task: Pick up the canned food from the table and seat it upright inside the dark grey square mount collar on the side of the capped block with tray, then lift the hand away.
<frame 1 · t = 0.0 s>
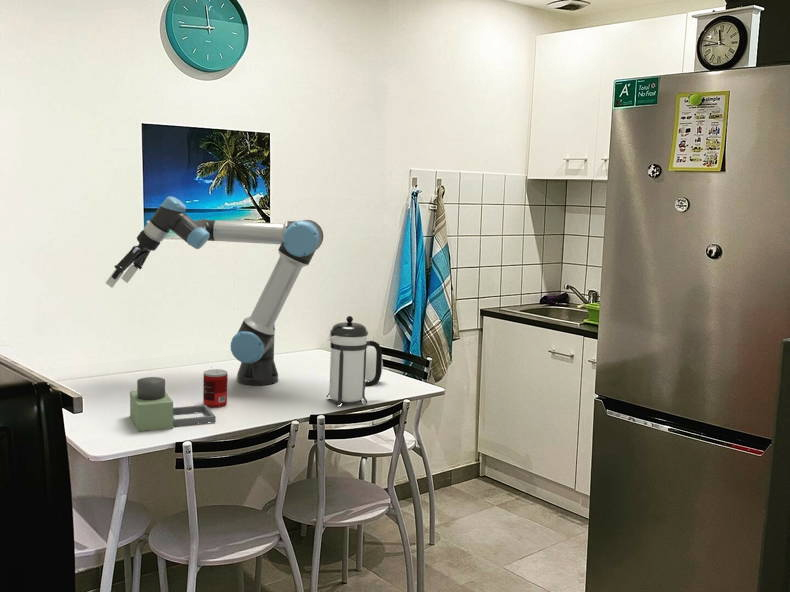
hand: (116, 282, 271), 36 cm above the table, tool tilted 35°, fingers open, 13 cm apart
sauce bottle: (371, 383, 293), on the table
capped block with tray: (166, 420, 236), on the table
canned food: (215, 404, 255), on the table
coffee press: (349, 402, 266), on the table
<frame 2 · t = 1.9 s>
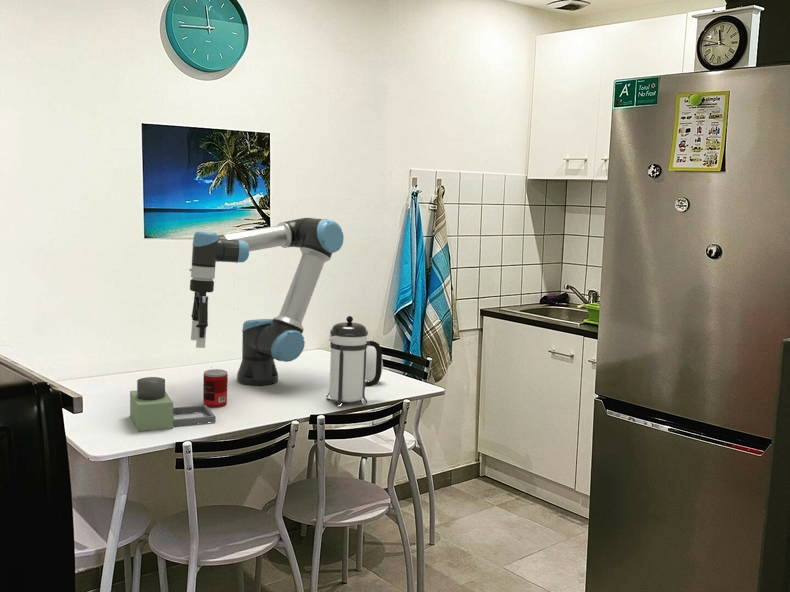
hand: (197, 343, 252), 20 cm above the table, tool pointing down, fingers open, 13 cm apart
nothing on the table moved.
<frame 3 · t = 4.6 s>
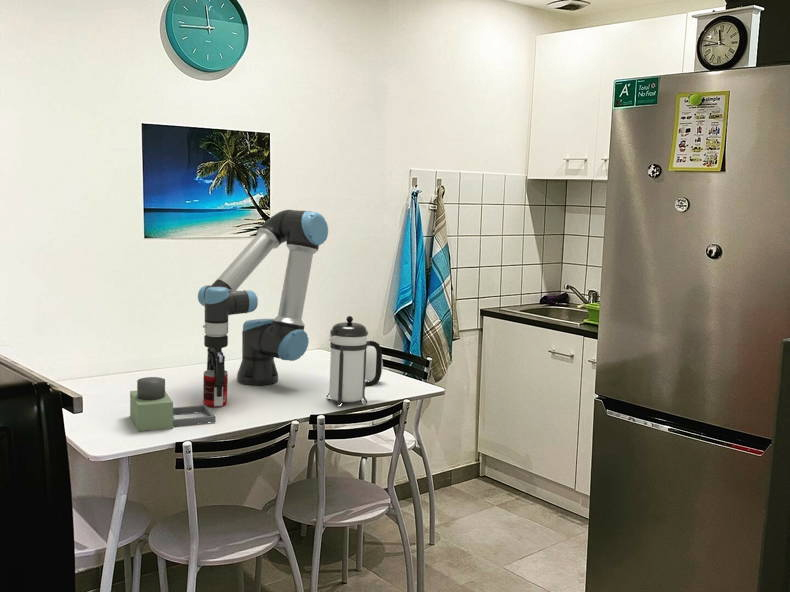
hand: (215, 402, 255), 1 cm above the table, tool pointing down, fingers closed on canned food, 8 cm apart
canned food: (215, 404, 255), on the table, touching gripper
everything else where it was.
when the fingers open (4 cm above the table, at t = 9.8 s): canned food drops 3 cm, resting in capped block with tray.
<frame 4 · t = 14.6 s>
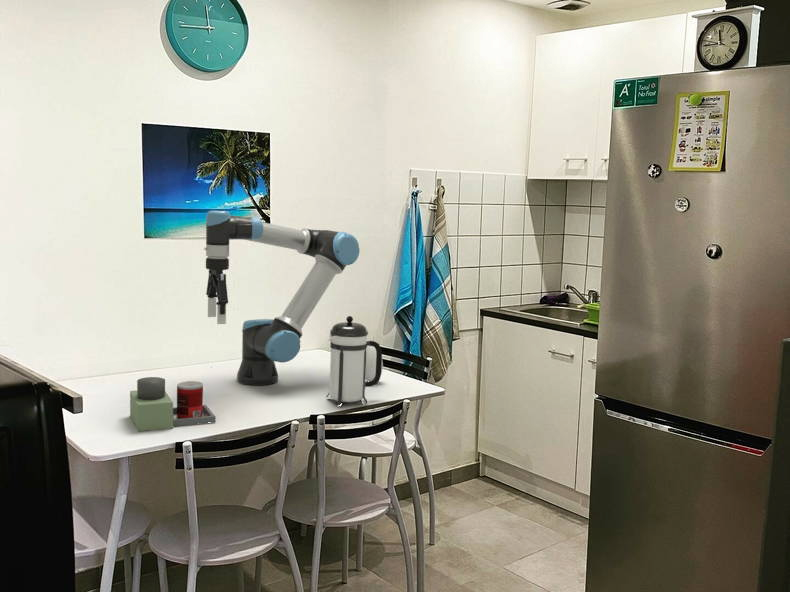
hand: (216, 320, 260), 27 cm above the table, tool pointing down, fingers open, 13 cm apart
canned food: (189, 419, 239), resting in capped block with tray
everything else where it was.
at the end: canned food 0.1 cm from the target spot on the capped block with tray, point 0.0 cm above the capped block with tray's base; canned food tilted 0°; the gripper is holding nothing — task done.
